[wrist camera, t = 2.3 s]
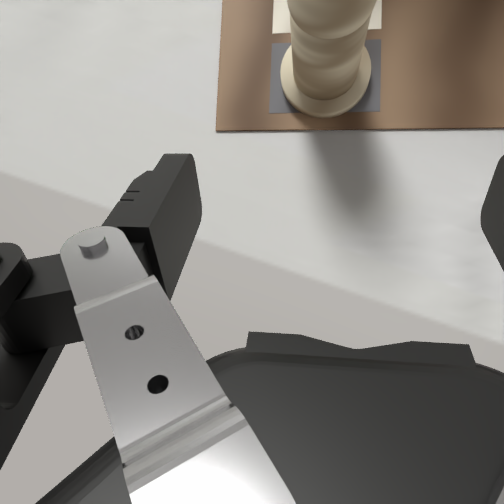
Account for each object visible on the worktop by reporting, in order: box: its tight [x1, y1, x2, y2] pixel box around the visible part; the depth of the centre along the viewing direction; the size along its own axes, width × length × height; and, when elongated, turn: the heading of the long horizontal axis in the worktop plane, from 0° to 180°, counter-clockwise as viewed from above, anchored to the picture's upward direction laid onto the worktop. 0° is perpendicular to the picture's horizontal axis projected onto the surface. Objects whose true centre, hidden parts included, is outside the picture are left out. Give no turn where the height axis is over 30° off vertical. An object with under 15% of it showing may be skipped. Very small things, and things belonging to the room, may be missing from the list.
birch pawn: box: [280, 0, 377, 118], centre depth 21 cm, size 6×6×10 cm
